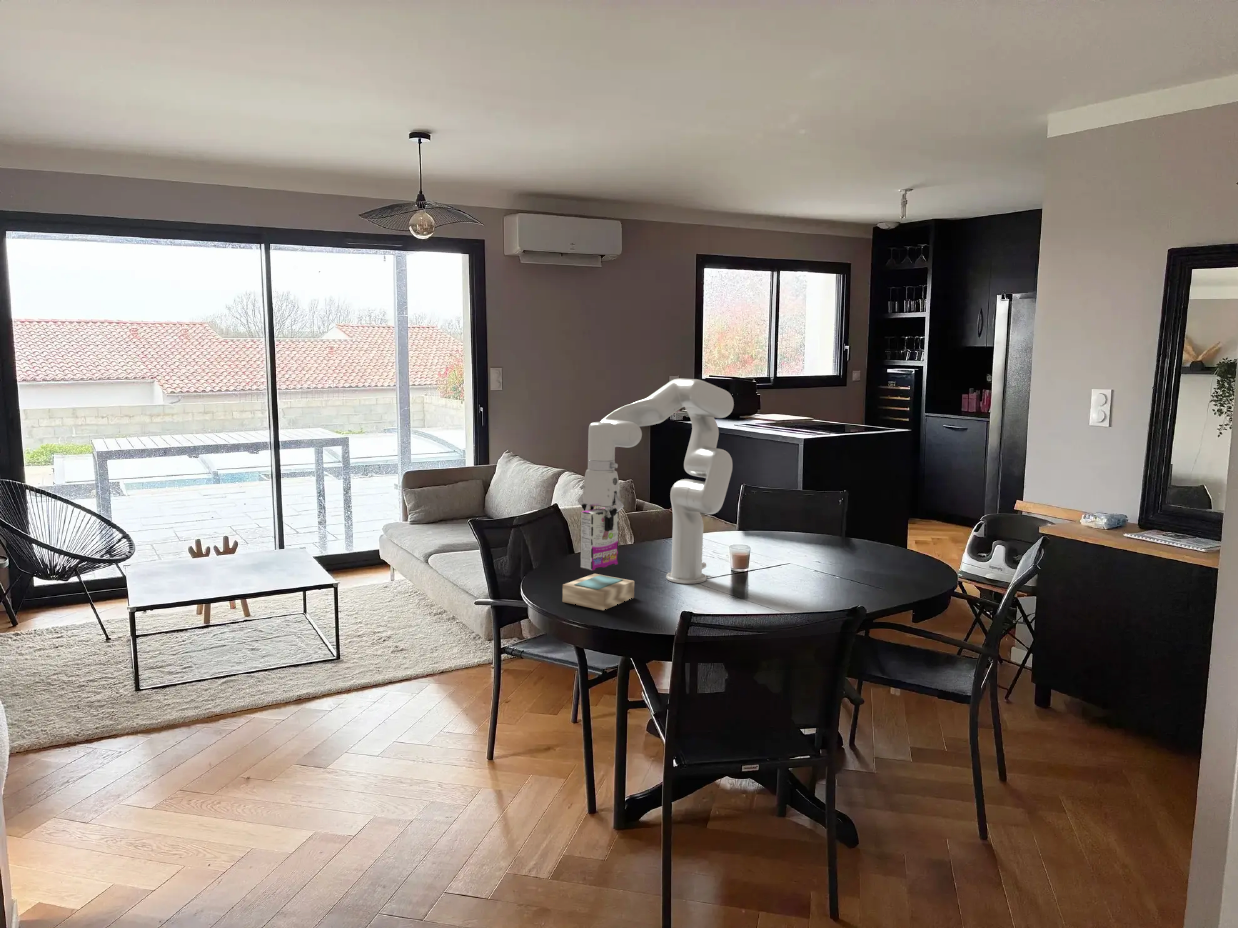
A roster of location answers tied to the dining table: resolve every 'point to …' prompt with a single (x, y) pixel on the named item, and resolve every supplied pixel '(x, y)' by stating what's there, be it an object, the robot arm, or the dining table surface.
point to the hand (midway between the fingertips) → (599, 528)
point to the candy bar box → (598, 540)
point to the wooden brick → (598, 591)
